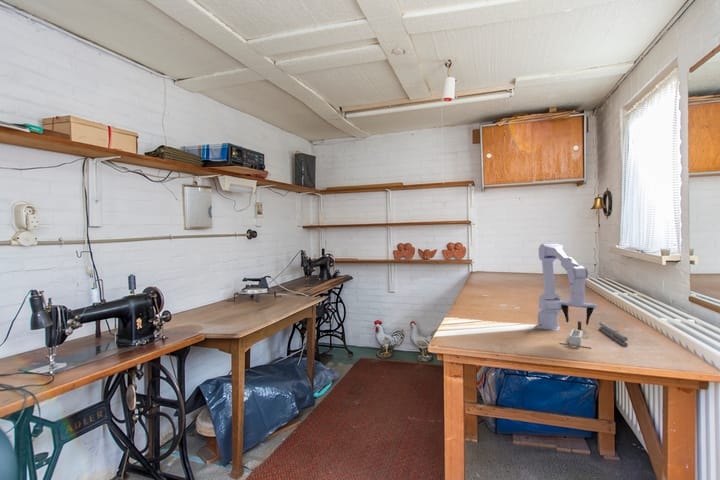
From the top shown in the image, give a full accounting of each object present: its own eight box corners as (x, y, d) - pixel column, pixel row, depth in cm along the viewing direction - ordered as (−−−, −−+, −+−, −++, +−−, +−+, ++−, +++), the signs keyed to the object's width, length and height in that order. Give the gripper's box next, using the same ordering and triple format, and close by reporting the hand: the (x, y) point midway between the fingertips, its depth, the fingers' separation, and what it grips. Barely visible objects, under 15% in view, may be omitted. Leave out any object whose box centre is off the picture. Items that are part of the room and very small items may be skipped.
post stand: (567, 337, 172) (567, 325, 172) (571, 329, 185) (571, 318, 185) (587, 340, 168) (587, 328, 168) (589, 331, 181) (589, 320, 181)
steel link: (568, 344, 161) (568, 335, 161) (571, 337, 171) (571, 329, 170) (580, 346, 158) (580, 337, 158) (582, 339, 168) (582, 330, 168)
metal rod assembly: (598, 330, 182) (598, 321, 182) (604, 331, 182) (604, 321, 182) (622, 347, 158) (622, 336, 157) (629, 348, 157) (629, 336, 157)
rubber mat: (559, 344, 163) (559, 343, 163) (562, 337, 173) (562, 336, 173) (590, 348, 156) (590, 347, 156) (592, 341, 166) (592, 340, 166)
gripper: (557, 293, 164) (557, 322, 164) (596, 296, 155) (595, 327, 156) (559, 290, 169) (559, 319, 170) (596, 293, 161) (596, 323, 161)
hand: (577, 323), depth 163 cm, fingers open, 7 cm apart
